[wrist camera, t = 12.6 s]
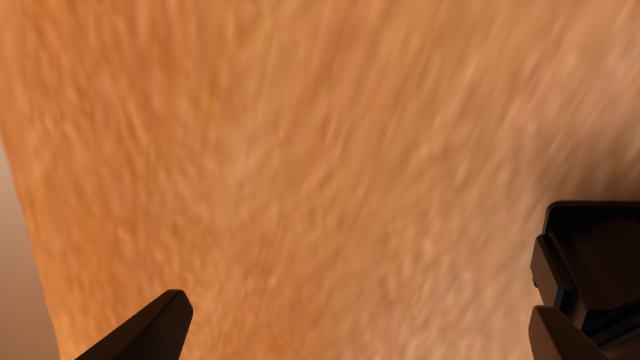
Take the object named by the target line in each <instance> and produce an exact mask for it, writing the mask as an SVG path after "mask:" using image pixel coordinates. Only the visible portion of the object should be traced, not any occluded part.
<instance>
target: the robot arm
mask: <svg viewBox="0 0 640 360" xmlns="http://www.w3.org/2000/svg"><path fill="white" fill-rule="evenodd" d="M557 210H561V211H560V212H559V213H554V212H555V211H557ZM530 268H531V271H532V273H533V278H532V279H533V283H534V285H535V287H537V288H538V290H539V292H540V295H541V298H542V301H543V303H544V305H536V306H534V308H533V310H532V315H531V319H530V324H529V329H528V332H529V340H530V344H531V348H532V353H533V357H534V360H640V202H555V203H552V204H550V205H549V206H548V208H547V210H546V215H545V220H544V225H543V230H542V234H540V235H538V236H537V237H536V240H535V246H534V251H533V256H532V261H531V266H530ZM192 317H193V308H192V305H191V303H190V301H189V299H188V297H187V296H186V294H185V292H184V291H183V290H180V289H169V290H167V291H165V292H164V293H163V294H161V295H160V296H159V297H157V298H156V299H155V300H153V301H152V302H151V303H149V304H148V305H147V306H145V307H144V308H143V309H141V310H140V311H139V312H137V313H136V314H135V315H133V316H132V317H131V318H129V319H128V320H127V321H125V322H124V323H123V324H121V325H120V326H119V327H117V328H116V329H115V330H113V331H112V332H111V333H109V334H108V335H107V336H105V337H104V338H103V339H101V340H100V341H99V342H97V343H96V344H95V345H93V346H92V347H91V348H89V349H88V350H87V351H85V352H84V353H83V354H81V355H80V356H79V357H77V358H76V359H75V360H179V357H180V354H181V351H182V348H183V345H184V342H185V339H186V335H187V332H188V329H189V326H190V323H191V320H192Z"/></svg>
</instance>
